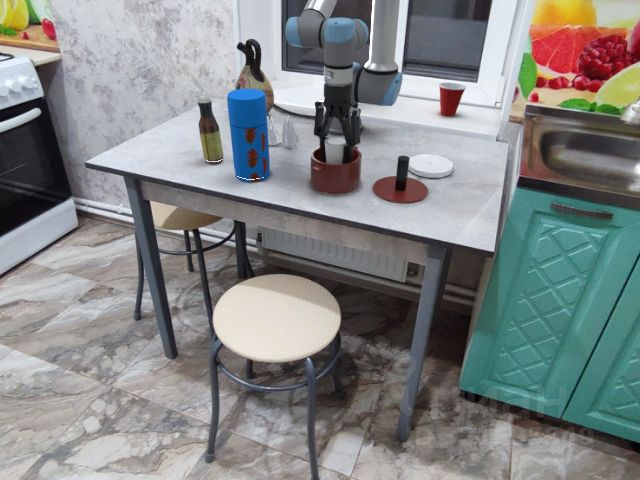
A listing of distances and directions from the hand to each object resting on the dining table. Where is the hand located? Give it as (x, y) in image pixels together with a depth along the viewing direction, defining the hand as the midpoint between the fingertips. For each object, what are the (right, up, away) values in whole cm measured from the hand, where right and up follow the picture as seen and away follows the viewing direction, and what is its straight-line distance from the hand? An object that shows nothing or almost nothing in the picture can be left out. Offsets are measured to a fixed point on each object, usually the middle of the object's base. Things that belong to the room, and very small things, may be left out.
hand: (335, 162), depth 138 cm
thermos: (-25, -3, +9) cm, 27 cm away
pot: (0, -6, +4) cm, 7 cm away
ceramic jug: (-30, +26, +51) cm, 64 cm away
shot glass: (0, 0, 0) cm, 0 cm away
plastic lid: (+30, -1, +12) cm, 32 cm away
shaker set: (-18, +10, +28) cm, 34 cm away
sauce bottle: (-39, +3, +17) cm, 43 cm away
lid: (+19, -8, 0) cm, 20 cm away
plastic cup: (+48, +29, +55) cm, 78 cm away
